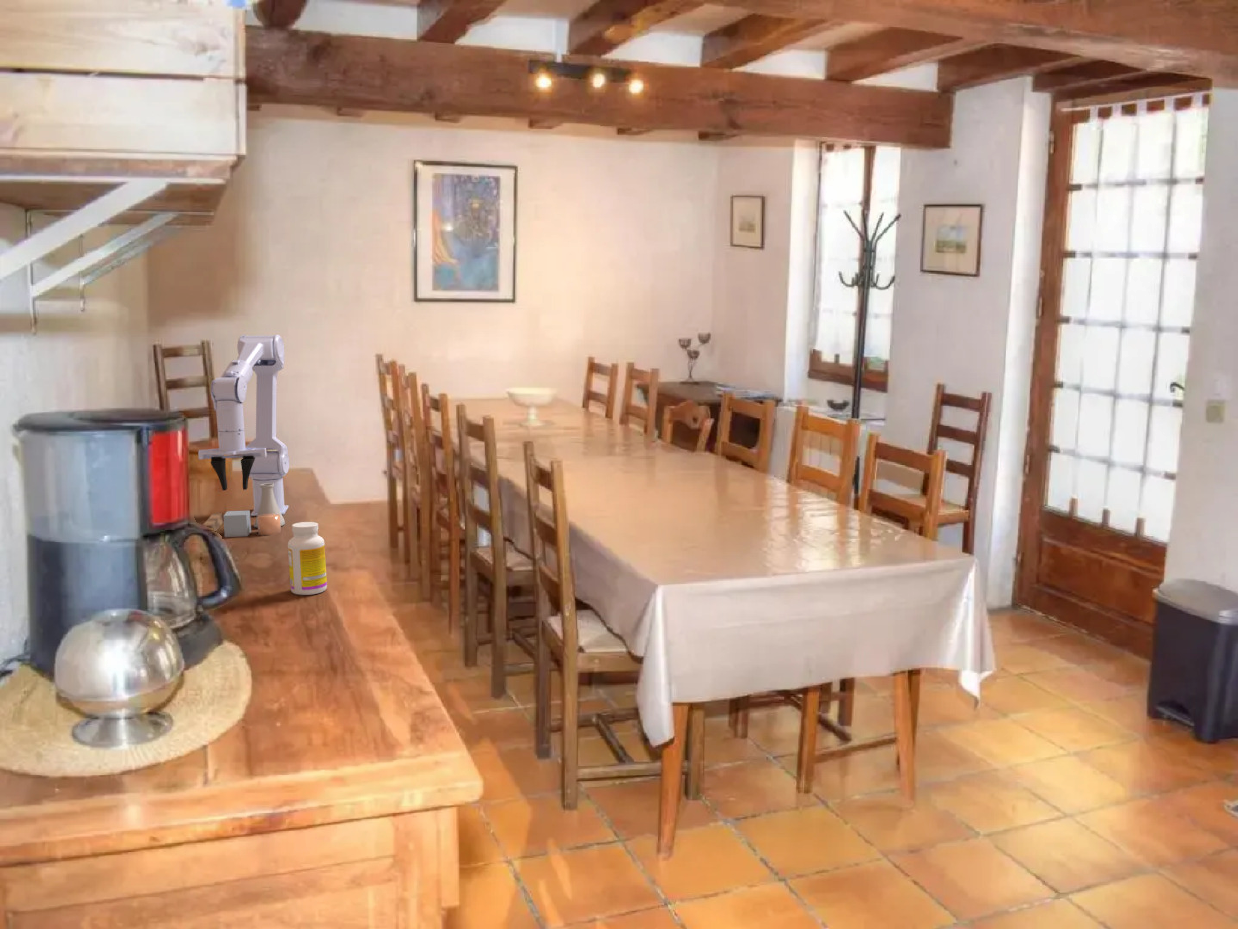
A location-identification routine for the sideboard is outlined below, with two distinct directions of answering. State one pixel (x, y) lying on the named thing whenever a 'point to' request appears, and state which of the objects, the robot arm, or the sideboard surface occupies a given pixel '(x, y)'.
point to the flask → (268, 503)
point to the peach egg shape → (269, 524)
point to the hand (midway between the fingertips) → (235, 489)
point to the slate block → (237, 523)
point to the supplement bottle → (307, 560)
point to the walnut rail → (214, 521)
